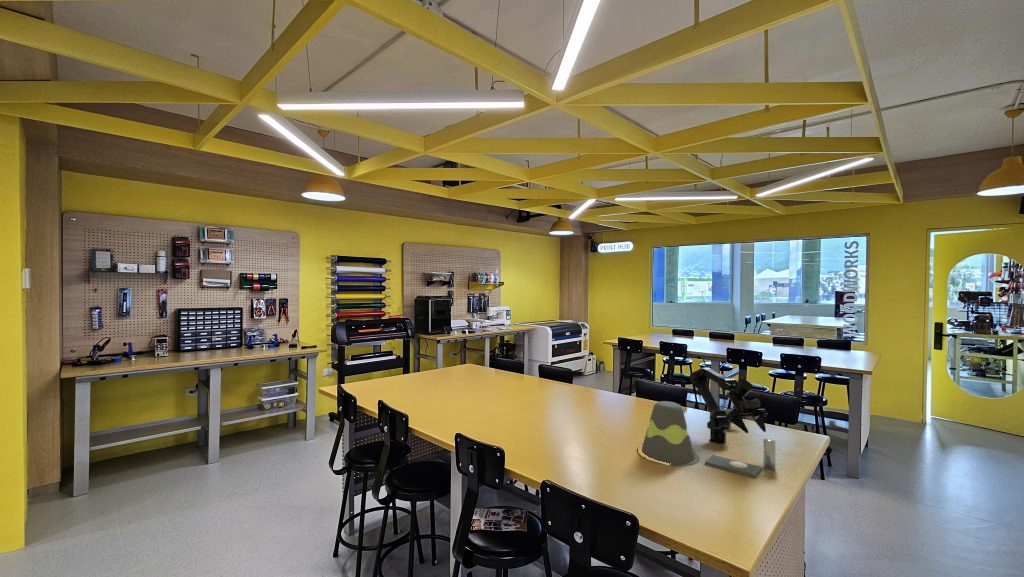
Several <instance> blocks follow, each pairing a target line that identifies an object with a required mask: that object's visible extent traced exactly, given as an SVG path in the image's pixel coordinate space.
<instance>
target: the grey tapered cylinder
mask: <svg viewBox="0 0 1024 577" xmlns="http://www.w3.org/2000/svg"><path fill="white" fill-rule="evenodd" d="M686 420H687V419H686V417H685V413H684V408H683V407H682V405H681V404H679V403H676V402H674V401H669V400H667V401H666V400H663V401H657V402H655V404H654V405H653V409H652V412H651V415H650V419H649V424H648V427H647V429H646V432H645V437H644V440H643V443H642V445H643V446H642V452H643V453H644V454H645V455H647V456H648V457H650V458H653V459H655V460H658V461H662V462H666V463H669V464H670V463H671V464H670V465H674V466H673V467H689V466H693V465H696V464H697V463H699V462H700V460H701V458H700V455H699V454H698V453H697V452H695V451H694V449H693V445H692V441H691V437H690V435H689V431H688V426H687V421H686ZM698 461H699V462H698ZM695 463H696V464H695Z"/></svg>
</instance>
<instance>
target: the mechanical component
mask: <svg viewBox="0 0 1024 577" xmlns="http://www.w3.org/2000/svg"><path fill="white" fill-rule="evenodd" d="M719 409H720V410H725V411H726V414H728V413H729V412H730V411H733V410H732V409H730V408H719ZM731 424H732V423H731V422H730V424H729V427H728V429H729V428H731V426H732V425H731Z"/></svg>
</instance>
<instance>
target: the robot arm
mask: <svg viewBox="0 0 1024 577" xmlns="http://www.w3.org/2000/svg"><path fill="white" fill-rule="evenodd" d="M688 379H689V381H690V383H691V384H692V386H693V387H695V388H696V389H697V390H698V391H699V394H700V395H701V397H702V399H703V401H704V403H705V406H706V407H707V409H708V411H709V420H708V422H707V423H706V428H707V429H709V430H710V432H709V433H710V435H709V436H710V437H709V438H710V439H709V440H708V441H710V442H713V443H717V444H724V443H725V442H727V433H726V431H728V430H729V428H728V427H729V424H730V422H731V424H733V425H735V426H736V427H738V428H739V429H740V430H741V431H743V432H744V433H745V434H748V433H749V430H748V428H747V426H746V424H745V422H744V419H743V418H753V420H754V423H755V424H756V425H757V426H758V427H759V428H760V430H762V431H763V432H764V433H766V432H767V430H766V429H767V428H766V424H765V423H766V422H765V418H766V417H767V415H768V414H769V413H768V412H767V410H766V409H765V408H760V406H762V405H761V404H762V403H761V401H760V400H759V398H754V399H752V400H747V399H745V398H744V397H746V396H747V395H748V394H749V393H750V392H751V391H752V390H753V388H754V387H753V386H754V385H753V384H752V383H751V382H749V380H746V379H745V378H743V377H742V378H741V377H740V378H739V379H738V380H737V379H736V378H734V377H730V376H725V375H722V374H720V373H718V372H717V371H715V370H713V369H712V368H710V367H707V366H706V367H705V366H704V367H700V368H699V369H697V370H695V371H693V372H690V374H689V376H688ZM708 379H710V380H711V381H713V382H715V383H716V384H717V386H718V388H720V389H721V390H722V391H729V392H726V395H725V398H726V399H730V401H731V403H732V405H733V406H732V409H735V410H732V411H730V412H729V413H728V414H726V411H725V410H720V409H721V408H720V407H719V405H718V404H717V402H716V400H715V397H714V396H713V394H712V392H711V390H710V389H709V388H710V387H709V386H708V381H709V380H708ZM757 408H758V409H757ZM755 409H756V410H755Z"/></svg>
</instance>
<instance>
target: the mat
mask: <svg viewBox="0 0 1024 577" xmlns="http://www.w3.org/2000/svg"><path fill="white" fill-rule="evenodd" d="M704 465H706V466H709V467H714V468H717V469H721V470H724V471H725V470H726V471H728V472H732V473H736V474H740V475H744V476H748V477H751V478H755V479H756V478H757V477H758V475H759V474H760V473H761V471H762V470H763V467H762V466H760V465H756V464H752V463H748V462H744V461H740V460H735V459H732V458H727V457H724V456H720V455H716V454H711V455H710V457H709V458H707V459H706V460H704Z"/></svg>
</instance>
